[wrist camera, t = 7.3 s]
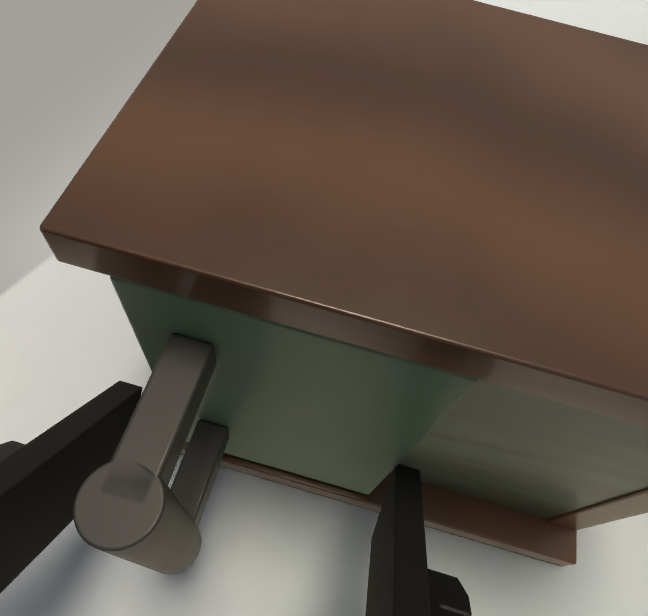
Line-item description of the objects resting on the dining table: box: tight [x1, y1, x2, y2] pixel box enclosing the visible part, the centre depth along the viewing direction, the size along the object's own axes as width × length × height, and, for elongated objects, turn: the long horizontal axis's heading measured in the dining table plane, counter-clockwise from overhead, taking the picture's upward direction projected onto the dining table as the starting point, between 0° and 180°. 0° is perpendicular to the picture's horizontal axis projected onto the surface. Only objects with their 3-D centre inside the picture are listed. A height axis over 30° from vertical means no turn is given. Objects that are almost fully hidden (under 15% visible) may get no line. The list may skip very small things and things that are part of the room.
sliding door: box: [73, 276, 478, 574], centre depth 14 cm, size 5×7×11 cm
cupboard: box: [40, 0, 648, 566], centre depth 17 cm, size 10×16×14 cm, turn 75°
